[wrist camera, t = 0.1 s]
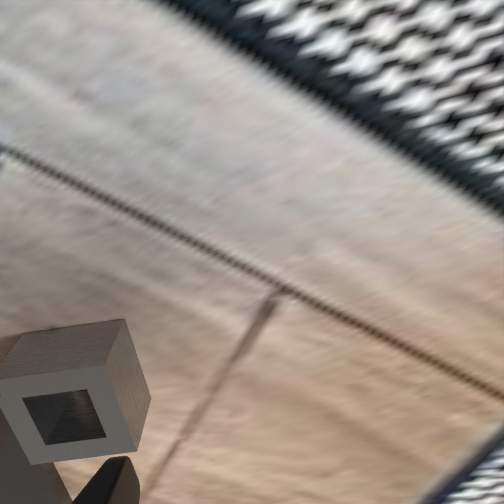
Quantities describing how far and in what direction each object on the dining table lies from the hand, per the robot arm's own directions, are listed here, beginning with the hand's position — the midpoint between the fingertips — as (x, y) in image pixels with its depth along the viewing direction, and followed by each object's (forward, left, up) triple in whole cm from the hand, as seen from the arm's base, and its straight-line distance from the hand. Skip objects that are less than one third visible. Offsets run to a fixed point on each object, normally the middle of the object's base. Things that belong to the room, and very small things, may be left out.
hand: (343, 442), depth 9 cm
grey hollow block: (-8, +13, -15) cm, 21 cm away
